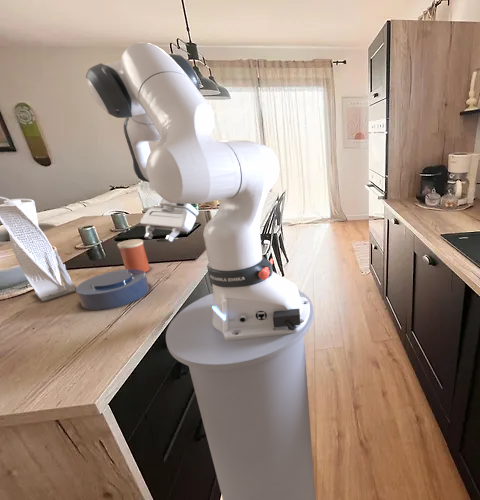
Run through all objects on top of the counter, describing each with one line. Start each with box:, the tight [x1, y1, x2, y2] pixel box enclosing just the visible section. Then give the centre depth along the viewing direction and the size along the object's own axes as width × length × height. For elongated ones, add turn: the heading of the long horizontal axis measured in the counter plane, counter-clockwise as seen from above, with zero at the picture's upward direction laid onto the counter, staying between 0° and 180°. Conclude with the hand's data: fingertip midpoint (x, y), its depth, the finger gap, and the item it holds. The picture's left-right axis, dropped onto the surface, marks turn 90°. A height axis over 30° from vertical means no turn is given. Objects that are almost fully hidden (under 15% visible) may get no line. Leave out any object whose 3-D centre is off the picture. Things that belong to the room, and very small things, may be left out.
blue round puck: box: [75, 268, 150, 311], centre depth 79 cm, size 15×15×5 cm
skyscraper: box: [0, 196, 76, 303], centre depth 76 cm, size 8×8×28 cm
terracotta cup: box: [116, 238, 151, 273], centre depth 93 cm, size 7×7×10 cm
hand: (157, 239), depth 100 cm, fingers open, 8 cm apart
